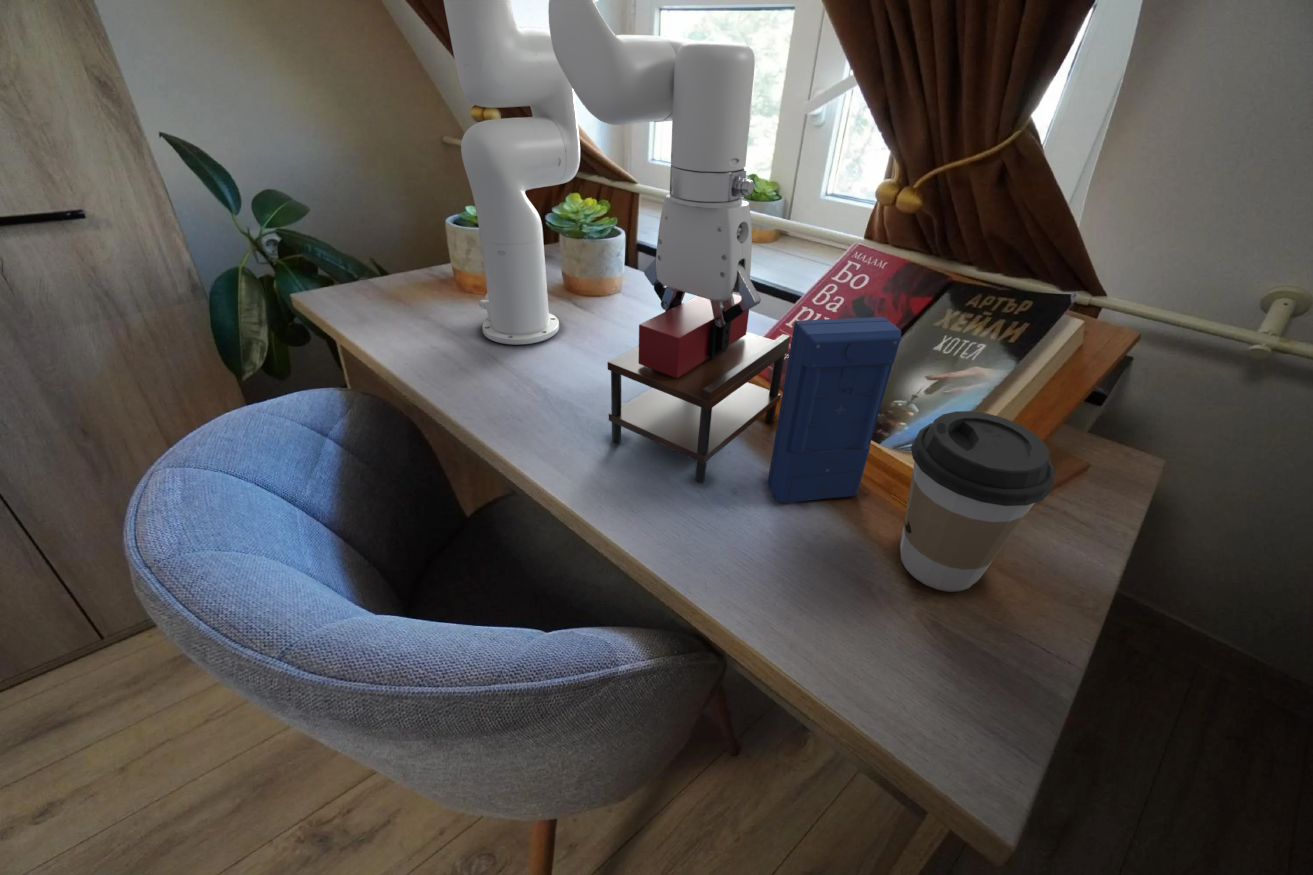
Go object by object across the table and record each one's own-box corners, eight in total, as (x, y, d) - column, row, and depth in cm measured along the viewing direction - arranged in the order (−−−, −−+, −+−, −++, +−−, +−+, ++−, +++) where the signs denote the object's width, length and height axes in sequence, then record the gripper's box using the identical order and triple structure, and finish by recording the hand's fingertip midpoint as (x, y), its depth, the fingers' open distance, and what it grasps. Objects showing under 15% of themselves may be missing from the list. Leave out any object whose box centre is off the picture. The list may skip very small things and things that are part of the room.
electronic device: (840, 471, 72) (881, 312, 61) (859, 499, 68) (907, 334, 56) (764, 477, 70) (791, 316, 59) (779, 506, 66) (811, 338, 55)
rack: (608, 440, 76) (607, 352, 69) (690, 386, 88) (696, 307, 81) (701, 485, 69) (710, 392, 62) (776, 420, 81) (790, 336, 74)
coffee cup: (883, 513, 66) (921, 393, 57) (997, 544, 62) (1056, 421, 54) (872, 586, 57) (915, 457, 49) (1004, 626, 53) (1075, 496, 45)
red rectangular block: (638, 363, 69) (638, 324, 66) (710, 323, 79) (713, 287, 76) (676, 378, 66) (678, 338, 63) (746, 334, 76) (750, 298, 73)
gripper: (799, 192, 60) (774, 356, 70) (661, 168, 69) (657, 318, 79) (762, 205, 55) (741, 380, 65) (619, 178, 64) (620, 336, 74)
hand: (695, 344), depth 72 cm, fingers closed on red rectangular block, 5 cm apart
